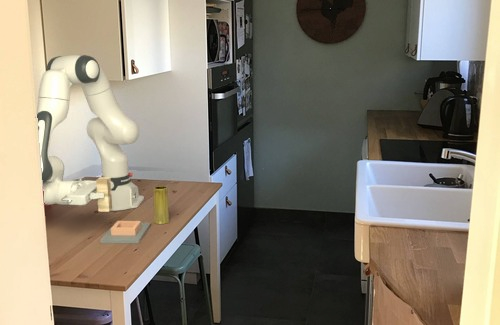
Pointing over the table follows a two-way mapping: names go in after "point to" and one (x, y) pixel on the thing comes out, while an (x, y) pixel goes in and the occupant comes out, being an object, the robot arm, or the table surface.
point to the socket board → (126, 232)
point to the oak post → (105, 187)
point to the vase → (161, 205)
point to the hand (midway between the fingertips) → (106, 193)
